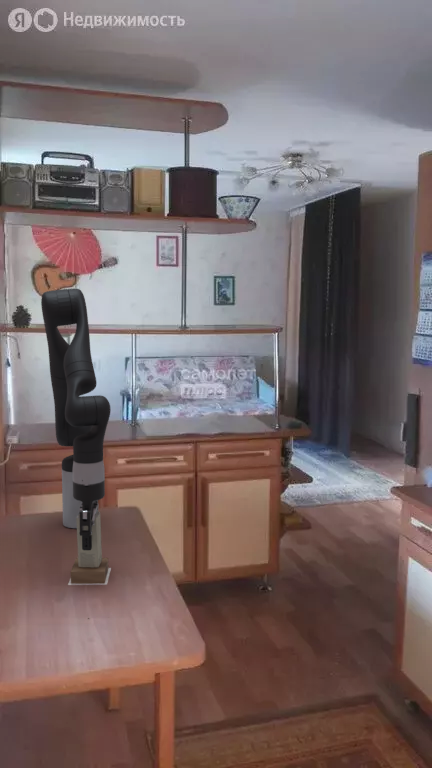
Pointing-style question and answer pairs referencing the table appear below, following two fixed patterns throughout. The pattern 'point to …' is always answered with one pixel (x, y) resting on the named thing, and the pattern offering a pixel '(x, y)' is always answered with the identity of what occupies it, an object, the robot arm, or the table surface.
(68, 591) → the table surface
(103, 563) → the base block
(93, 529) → the box
